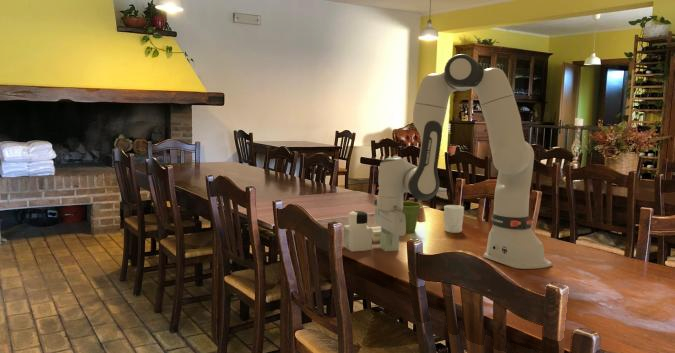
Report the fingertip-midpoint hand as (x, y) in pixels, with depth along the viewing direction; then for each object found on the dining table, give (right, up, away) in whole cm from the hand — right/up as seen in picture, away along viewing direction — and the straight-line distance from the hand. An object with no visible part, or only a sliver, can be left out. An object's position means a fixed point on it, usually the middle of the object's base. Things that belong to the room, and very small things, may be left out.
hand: (389, 242), depth 187 cm
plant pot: (+9, +1, +28) cm, 29 cm away
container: (-11, -2, 0) cm, 11 cm away
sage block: (0, -2, 0) cm, 2 cm away
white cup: (+29, +1, +29) cm, 41 cm away
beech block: (-2, -1, +15) cm, 15 cm away
